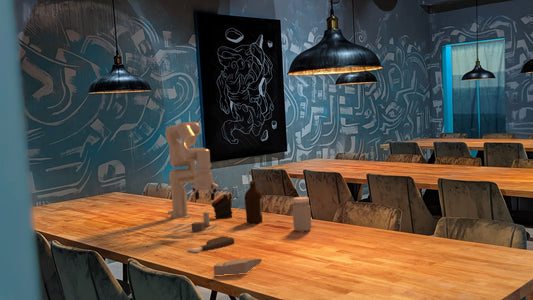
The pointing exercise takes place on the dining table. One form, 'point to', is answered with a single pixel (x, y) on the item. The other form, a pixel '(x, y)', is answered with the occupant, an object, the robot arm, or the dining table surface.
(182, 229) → the panel
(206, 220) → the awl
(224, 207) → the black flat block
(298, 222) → the jar
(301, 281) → the dining table surface
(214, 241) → the brown brush
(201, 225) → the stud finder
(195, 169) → the robot arm
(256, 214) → the olive oil
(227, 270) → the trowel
